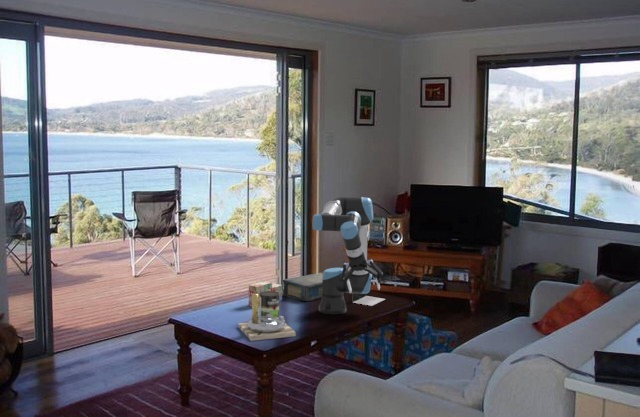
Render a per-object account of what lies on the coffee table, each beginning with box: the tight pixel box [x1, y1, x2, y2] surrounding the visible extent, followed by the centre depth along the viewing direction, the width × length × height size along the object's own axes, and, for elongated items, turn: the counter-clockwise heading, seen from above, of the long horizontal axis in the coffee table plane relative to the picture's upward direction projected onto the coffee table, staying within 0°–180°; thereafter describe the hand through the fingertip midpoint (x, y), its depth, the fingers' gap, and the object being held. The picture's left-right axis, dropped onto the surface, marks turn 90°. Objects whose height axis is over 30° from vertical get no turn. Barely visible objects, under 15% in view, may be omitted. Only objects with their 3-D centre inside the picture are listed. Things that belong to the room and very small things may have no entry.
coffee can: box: [258, 291, 280, 317], centre depth 341 cm, size 10×10×14 cm
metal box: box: [282, 272, 323, 302], centre depth 396 cm, size 21×32×10 cm, turn 135°
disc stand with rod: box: [247, 293, 286, 333], centre depth 321 cm, size 18×18×17 cm
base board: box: [238, 322, 296, 342], centre depth 322 cm, size 22×22×2 cm
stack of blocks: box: [248, 280, 283, 309], centre depth 373 cm, size 21×6×12 cm, turn 142°
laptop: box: [351, 293, 386, 307], centre depth 382 cm, size 18×12×13 cm
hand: (364, 289), depth 312 cm, fingers open, 13 cm apart
